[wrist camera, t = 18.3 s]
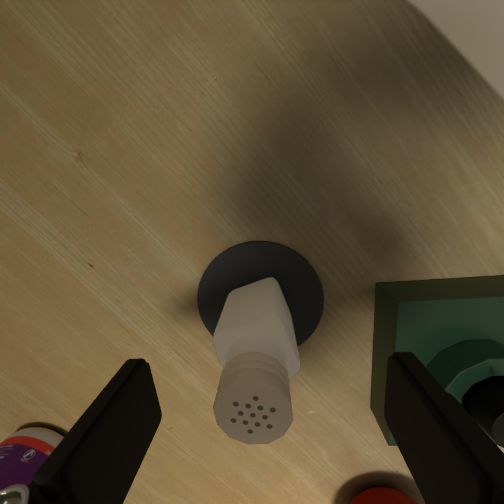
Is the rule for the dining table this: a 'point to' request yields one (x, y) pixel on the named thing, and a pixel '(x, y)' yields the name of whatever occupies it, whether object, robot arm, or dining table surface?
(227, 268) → the coaster
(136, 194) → the dining table surface
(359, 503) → the fruit
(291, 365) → the salt shaker
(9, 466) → the pill bottle
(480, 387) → the black push button
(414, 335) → the green square nut
